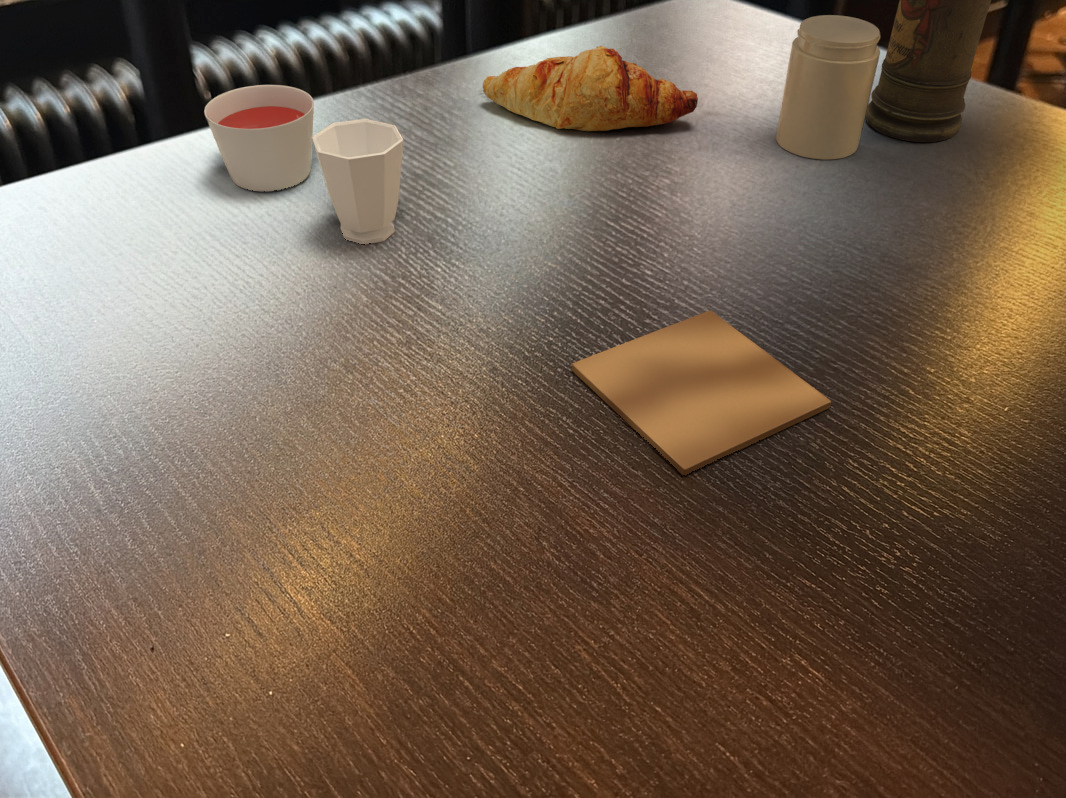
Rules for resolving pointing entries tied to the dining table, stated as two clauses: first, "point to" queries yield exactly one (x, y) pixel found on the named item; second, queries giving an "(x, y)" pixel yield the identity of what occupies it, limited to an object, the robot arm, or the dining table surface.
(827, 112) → the jar
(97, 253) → the dining table surface
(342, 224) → the cup
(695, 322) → the coaster
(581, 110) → the croissant
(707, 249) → the dining table surface
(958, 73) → the container
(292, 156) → the candle
